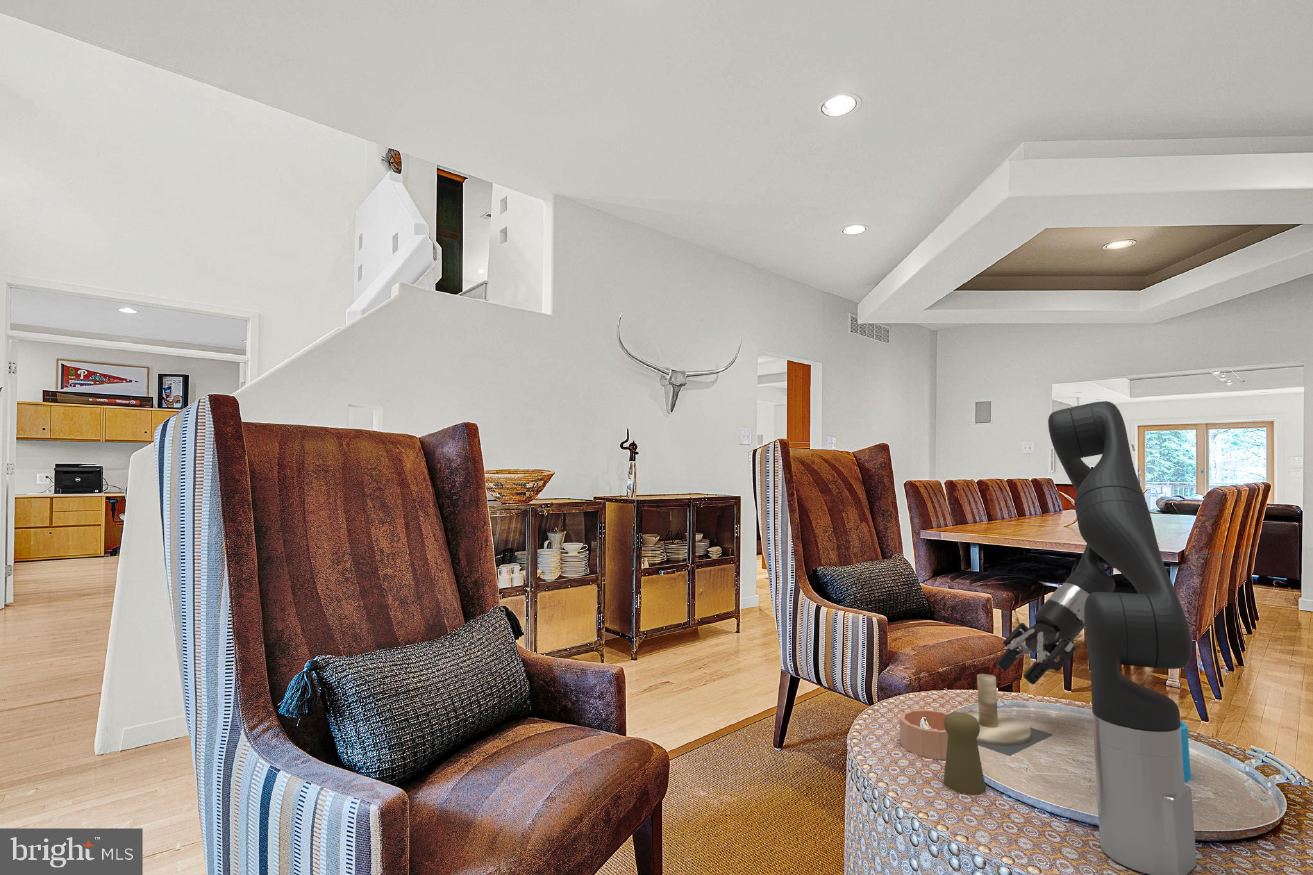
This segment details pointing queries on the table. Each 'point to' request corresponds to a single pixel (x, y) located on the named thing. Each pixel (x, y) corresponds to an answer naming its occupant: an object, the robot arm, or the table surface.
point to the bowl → (924, 733)
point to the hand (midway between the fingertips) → (1013, 674)
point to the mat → (1010, 750)
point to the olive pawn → (963, 754)
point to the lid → (996, 718)
